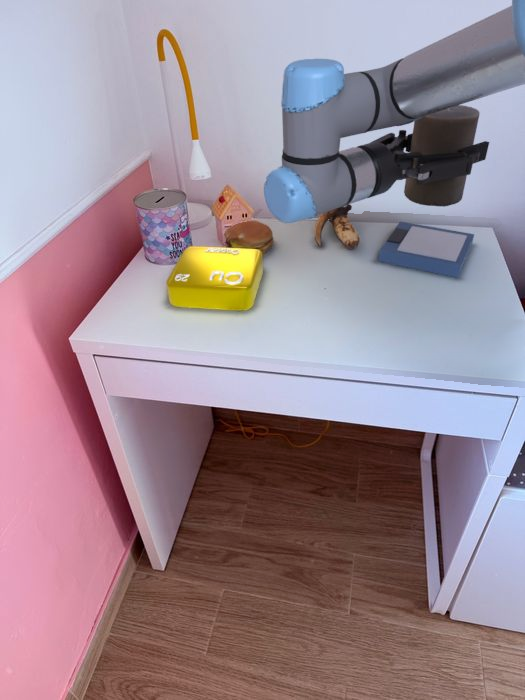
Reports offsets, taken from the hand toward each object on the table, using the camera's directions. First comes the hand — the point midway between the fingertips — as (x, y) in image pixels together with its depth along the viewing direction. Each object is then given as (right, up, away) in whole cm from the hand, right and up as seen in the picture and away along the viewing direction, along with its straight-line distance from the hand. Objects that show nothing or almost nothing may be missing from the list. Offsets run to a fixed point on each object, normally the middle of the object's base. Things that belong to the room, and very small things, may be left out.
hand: (458, 142), depth 86 cm
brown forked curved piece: (-17, -11, +23) cm, 31 cm away
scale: (0, -15, +16) cm, 22 cm away
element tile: (-41, -23, +8) cm, 48 cm away
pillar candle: (-3, -8, +3) cm, 9 cm away
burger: (-35, -14, +20) cm, 43 cm away
